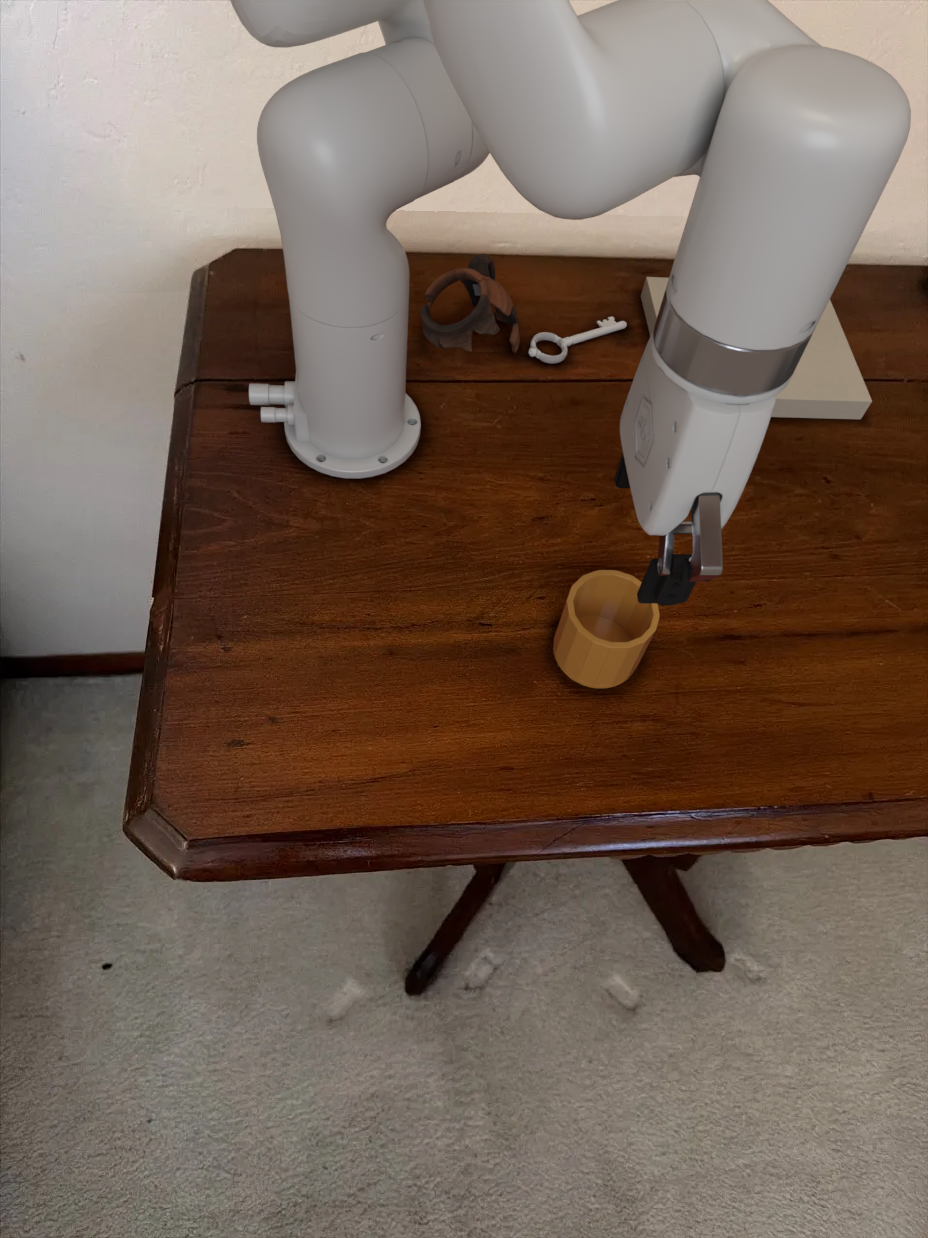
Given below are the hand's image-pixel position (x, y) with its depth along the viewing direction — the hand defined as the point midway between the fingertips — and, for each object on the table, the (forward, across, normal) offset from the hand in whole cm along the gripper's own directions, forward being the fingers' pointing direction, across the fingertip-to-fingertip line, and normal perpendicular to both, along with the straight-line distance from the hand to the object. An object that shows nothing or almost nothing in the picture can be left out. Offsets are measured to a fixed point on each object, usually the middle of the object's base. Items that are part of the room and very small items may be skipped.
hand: (647, 539), depth 59 cm
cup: (+15, 0, 0) cm, 15 cm away
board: (+15, -36, +21) cm, 44 cm away
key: (+15, -37, +3) cm, 40 cm away
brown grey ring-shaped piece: (+15, -38, -8) cm, 42 cm away
